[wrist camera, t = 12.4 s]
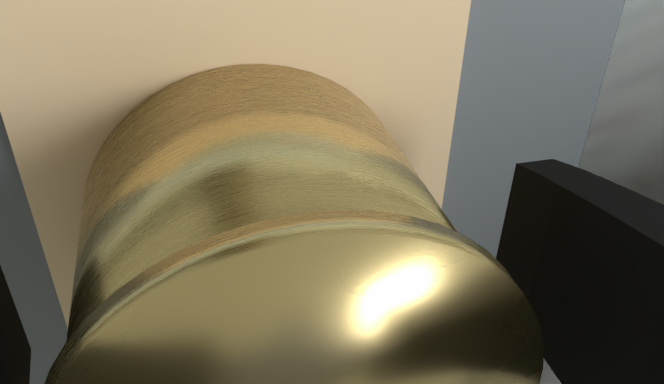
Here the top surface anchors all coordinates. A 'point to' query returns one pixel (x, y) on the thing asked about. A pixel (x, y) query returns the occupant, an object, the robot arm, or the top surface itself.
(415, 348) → the cap
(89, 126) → the post board
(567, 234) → the robot arm
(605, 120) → the top surface
